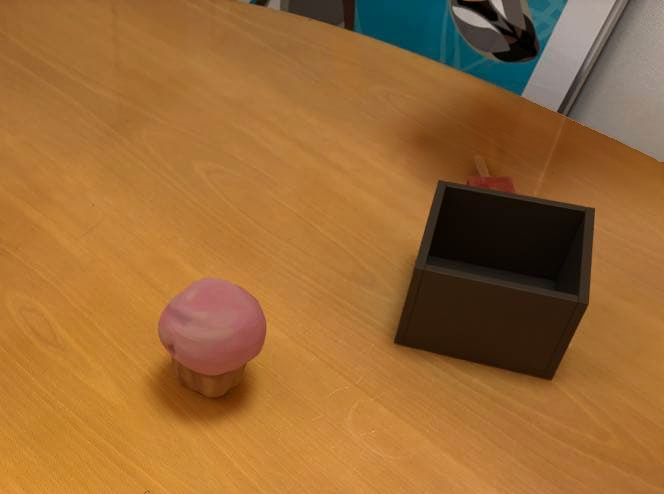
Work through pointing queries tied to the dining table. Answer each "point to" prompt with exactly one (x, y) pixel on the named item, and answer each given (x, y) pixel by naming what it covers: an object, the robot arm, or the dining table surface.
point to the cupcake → (212, 334)
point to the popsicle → (489, 179)
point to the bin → (499, 279)
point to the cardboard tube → (474, 0)
